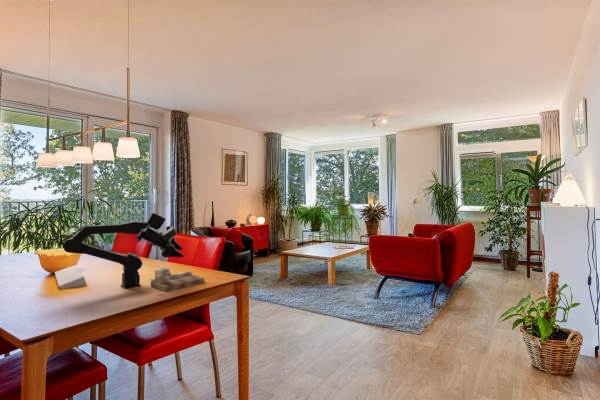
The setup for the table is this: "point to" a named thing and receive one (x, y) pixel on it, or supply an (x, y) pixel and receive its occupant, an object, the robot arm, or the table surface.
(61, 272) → the white wedge doorstop
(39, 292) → the table surface
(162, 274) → the ball-top joystick
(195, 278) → the board
